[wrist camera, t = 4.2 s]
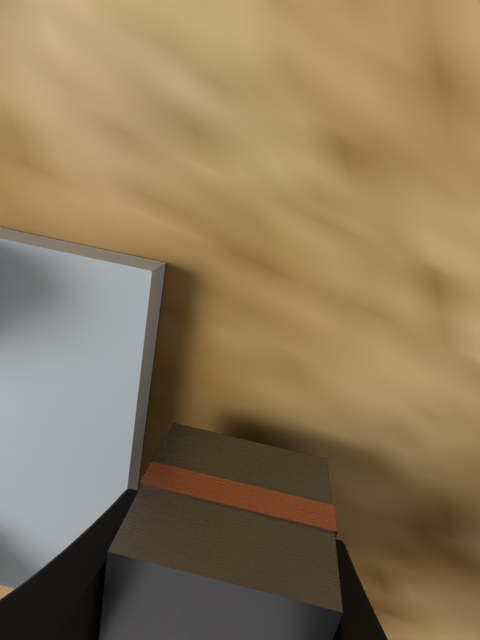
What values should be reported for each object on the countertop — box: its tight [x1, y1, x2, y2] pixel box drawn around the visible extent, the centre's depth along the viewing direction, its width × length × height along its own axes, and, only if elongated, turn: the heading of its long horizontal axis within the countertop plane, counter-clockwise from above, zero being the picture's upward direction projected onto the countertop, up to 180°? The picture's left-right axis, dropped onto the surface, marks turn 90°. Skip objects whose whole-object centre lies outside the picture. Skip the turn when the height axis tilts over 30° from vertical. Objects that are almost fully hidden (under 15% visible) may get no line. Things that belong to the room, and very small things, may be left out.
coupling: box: [99, 423, 343, 640], centre depth 11 cm, size 5×5×4 cm
